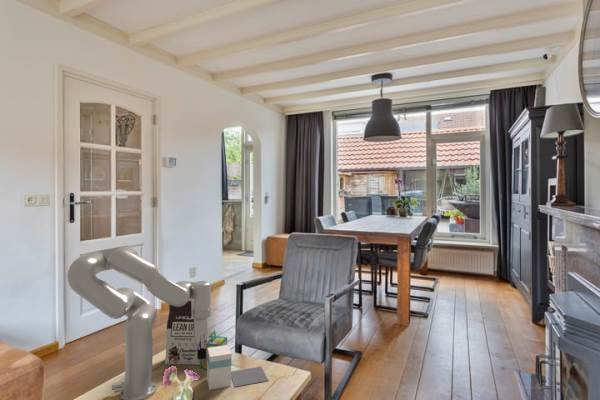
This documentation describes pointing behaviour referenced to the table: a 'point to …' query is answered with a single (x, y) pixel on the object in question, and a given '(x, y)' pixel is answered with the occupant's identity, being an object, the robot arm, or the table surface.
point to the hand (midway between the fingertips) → (201, 358)
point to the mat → (248, 376)
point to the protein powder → (181, 336)
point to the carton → (218, 367)
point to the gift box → (213, 342)
